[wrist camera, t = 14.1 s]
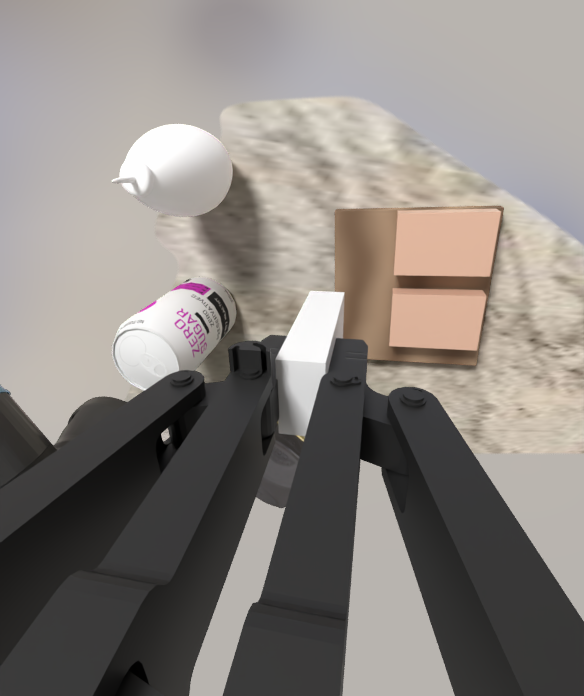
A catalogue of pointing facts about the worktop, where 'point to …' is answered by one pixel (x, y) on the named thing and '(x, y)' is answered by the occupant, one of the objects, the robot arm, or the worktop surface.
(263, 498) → the coffee jar
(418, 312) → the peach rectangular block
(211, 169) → the sauce bottle
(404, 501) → the robot arm
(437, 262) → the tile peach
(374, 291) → the board
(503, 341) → the worktop surface
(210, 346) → the supplement can
